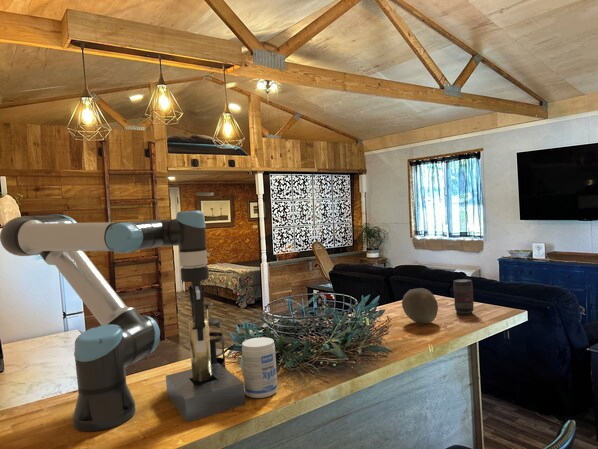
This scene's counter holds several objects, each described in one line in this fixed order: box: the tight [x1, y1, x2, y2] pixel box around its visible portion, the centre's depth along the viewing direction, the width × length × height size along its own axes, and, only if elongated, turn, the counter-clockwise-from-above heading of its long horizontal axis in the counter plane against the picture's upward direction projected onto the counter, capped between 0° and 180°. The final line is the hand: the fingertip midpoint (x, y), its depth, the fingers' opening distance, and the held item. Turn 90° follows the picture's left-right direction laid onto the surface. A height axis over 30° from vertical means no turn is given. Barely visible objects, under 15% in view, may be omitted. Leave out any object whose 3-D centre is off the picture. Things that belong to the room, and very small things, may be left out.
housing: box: [165, 363, 246, 423], centre depth 122 cm, size 16×20×6 cm
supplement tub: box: [241, 336, 278, 399], centre depth 124 cm, size 10×10×15 cm
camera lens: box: [452, 278, 475, 317], centre depth 193 cm, size 8×8×15 cm
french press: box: [203, 302, 227, 369], centre depth 143 cm, size 12×9×23 cm
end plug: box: [187, 317, 212, 381], centre depth 121 cm, size 5×5×17 cm
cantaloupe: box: [401, 287, 439, 325], centre depth 182 cm, size 14×14×15 cm
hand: (200, 348), depth 121 cm, fingers closed on end plug, 5 cm apart
